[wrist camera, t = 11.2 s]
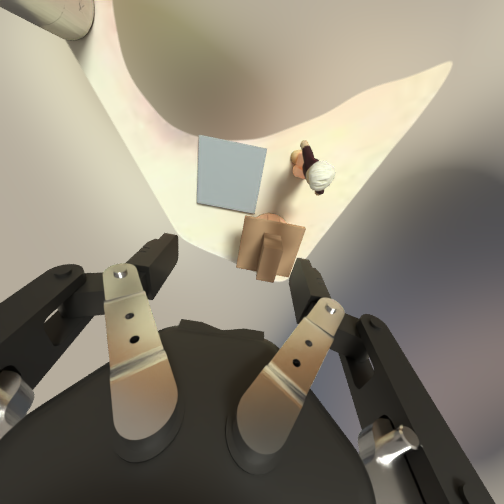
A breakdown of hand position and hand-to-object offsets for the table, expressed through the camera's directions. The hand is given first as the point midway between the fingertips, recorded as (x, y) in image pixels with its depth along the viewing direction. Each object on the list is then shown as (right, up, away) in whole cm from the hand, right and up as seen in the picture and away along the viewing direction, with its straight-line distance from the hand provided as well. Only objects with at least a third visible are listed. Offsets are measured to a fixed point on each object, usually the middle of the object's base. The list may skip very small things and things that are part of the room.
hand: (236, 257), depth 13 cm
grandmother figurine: (+10, +15, +19) cm, 26 cm away
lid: (+4, +1, +21) cm, 21 cm away
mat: (-3, +14, +21) cm, 25 cm away
